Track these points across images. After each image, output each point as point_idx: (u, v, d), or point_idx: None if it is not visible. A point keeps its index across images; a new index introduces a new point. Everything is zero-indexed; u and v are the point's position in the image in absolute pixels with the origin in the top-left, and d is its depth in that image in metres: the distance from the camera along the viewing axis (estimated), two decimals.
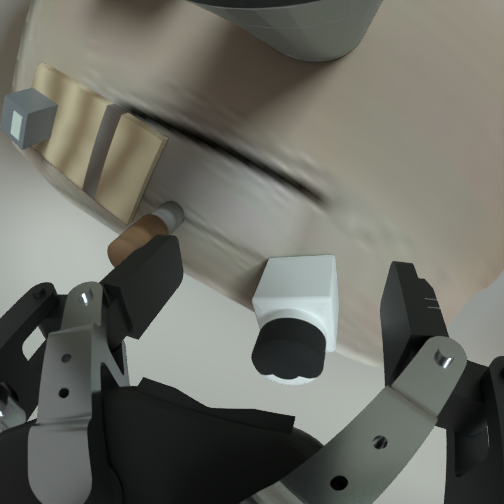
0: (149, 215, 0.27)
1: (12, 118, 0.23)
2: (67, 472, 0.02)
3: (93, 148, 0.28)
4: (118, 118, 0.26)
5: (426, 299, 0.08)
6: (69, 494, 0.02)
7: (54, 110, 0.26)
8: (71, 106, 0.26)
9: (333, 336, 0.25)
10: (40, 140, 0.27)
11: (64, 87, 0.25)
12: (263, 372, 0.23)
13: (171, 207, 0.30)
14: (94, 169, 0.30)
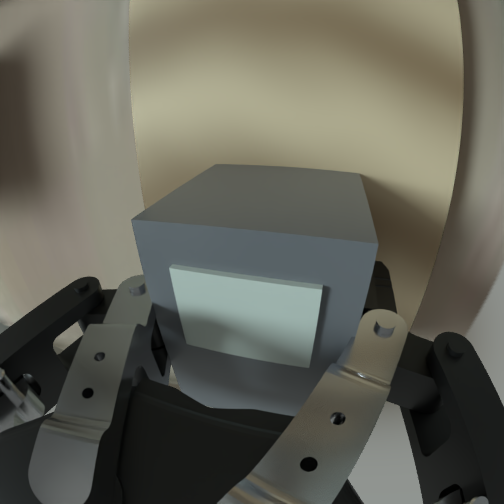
0: None
1: (221, 350, 0.07)
2: (67, 472, 0.02)
3: None
4: None
5: (379, 279, 0.09)
6: (69, 494, 0.02)
7: (229, 167, 0.10)
8: (189, 94, 0.09)
9: None
10: (355, 189, 0.07)
11: (155, 158, 0.11)
12: None
13: None
14: None
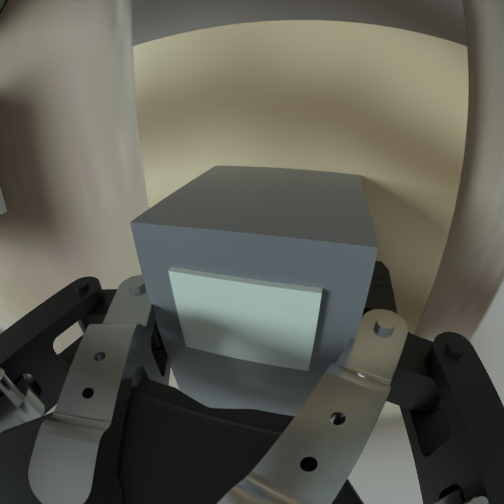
0: None
1: (220, 352, 0.07)
2: (67, 472, 0.02)
3: (278, 17, 0.07)
4: None
5: (379, 279, 0.09)
6: (69, 494, 0.02)
7: (229, 168, 0.10)
8: None
9: None
10: (355, 191, 0.07)
11: None
12: None
13: None
14: None
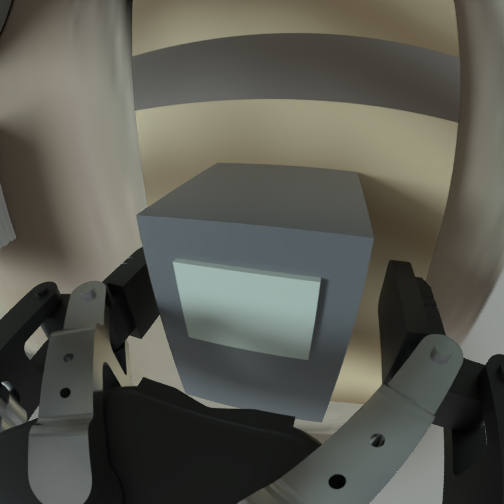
0: None
1: (222, 343, 0.07)
2: (67, 472, 0.02)
3: (275, 96, 0.09)
4: (144, 58, 0.09)
5: (423, 297, 0.08)
6: (69, 494, 0.02)
7: (231, 165, 0.10)
8: None
9: None
10: (353, 187, 0.08)
11: None
12: None
13: None
14: (348, 68, 0.07)
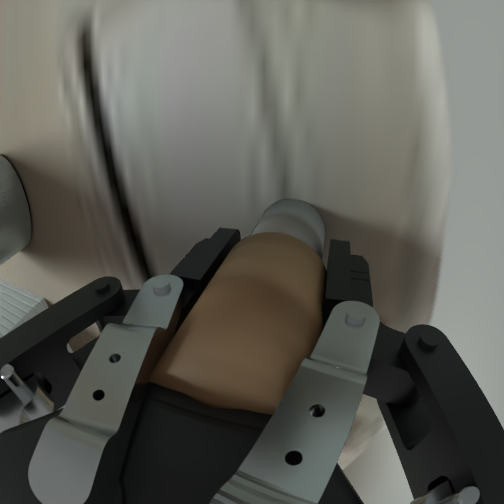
0: None
1: None
2: (67, 472, 0.02)
3: None
4: None
5: (358, 273, 0.09)
6: (69, 494, 0.02)
7: None
8: None
9: None
10: None
11: None
12: None
13: None
14: None
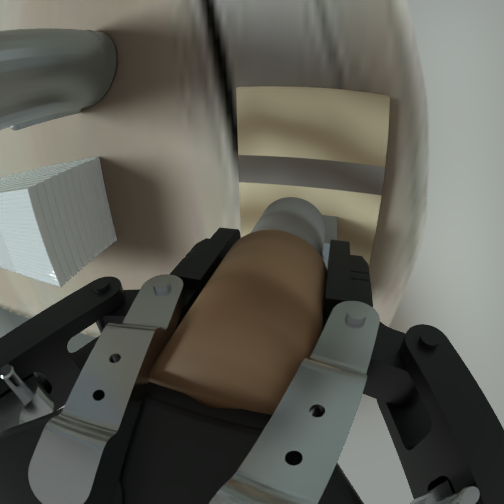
0: None
1: None
2: (67, 472, 0.02)
3: (305, 185, 0.23)
4: (245, 157, 0.23)
5: (358, 273, 0.09)
6: (69, 494, 0.02)
7: None
8: None
9: None
10: (333, 225, 0.22)
11: None
12: None
13: None
14: (335, 175, 0.22)
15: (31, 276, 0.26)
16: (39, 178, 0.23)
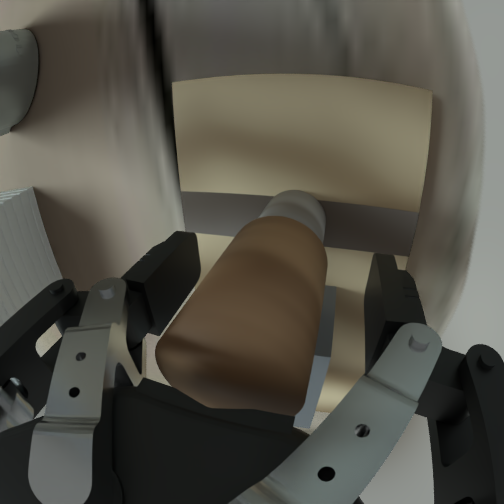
0: None
1: None
2: (67, 472, 0.02)
3: None
4: (191, 195, 0.15)
5: (406, 289, 0.08)
6: (69, 494, 0.02)
7: None
8: None
9: None
10: (330, 308, 0.14)
11: None
12: None
13: None
14: (336, 225, 0.14)
15: None
16: None
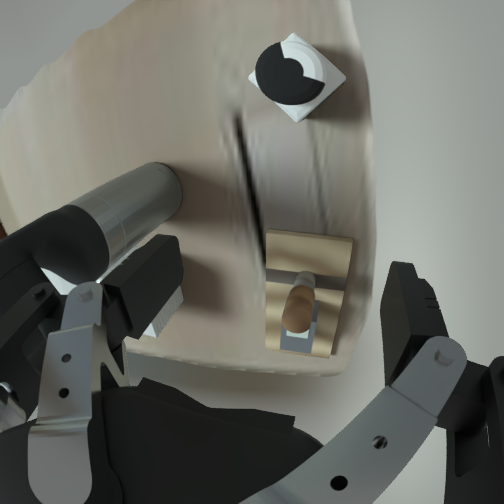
0: None
1: (292, 336, 0.42)
2: (67, 472, 0.02)
3: None
4: (269, 269, 0.43)
5: (426, 299, 0.08)
6: (69, 494, 0.02)
7: None
8: (281, 311, 0.47)
9: None
10: (316, 308, 0.42)
11: (271, 320, 0.49)
12: (311, 82, 0.20)
13: (294, 283, 0.42)
14: (319, 281, 0.42)
15: None
16: None
